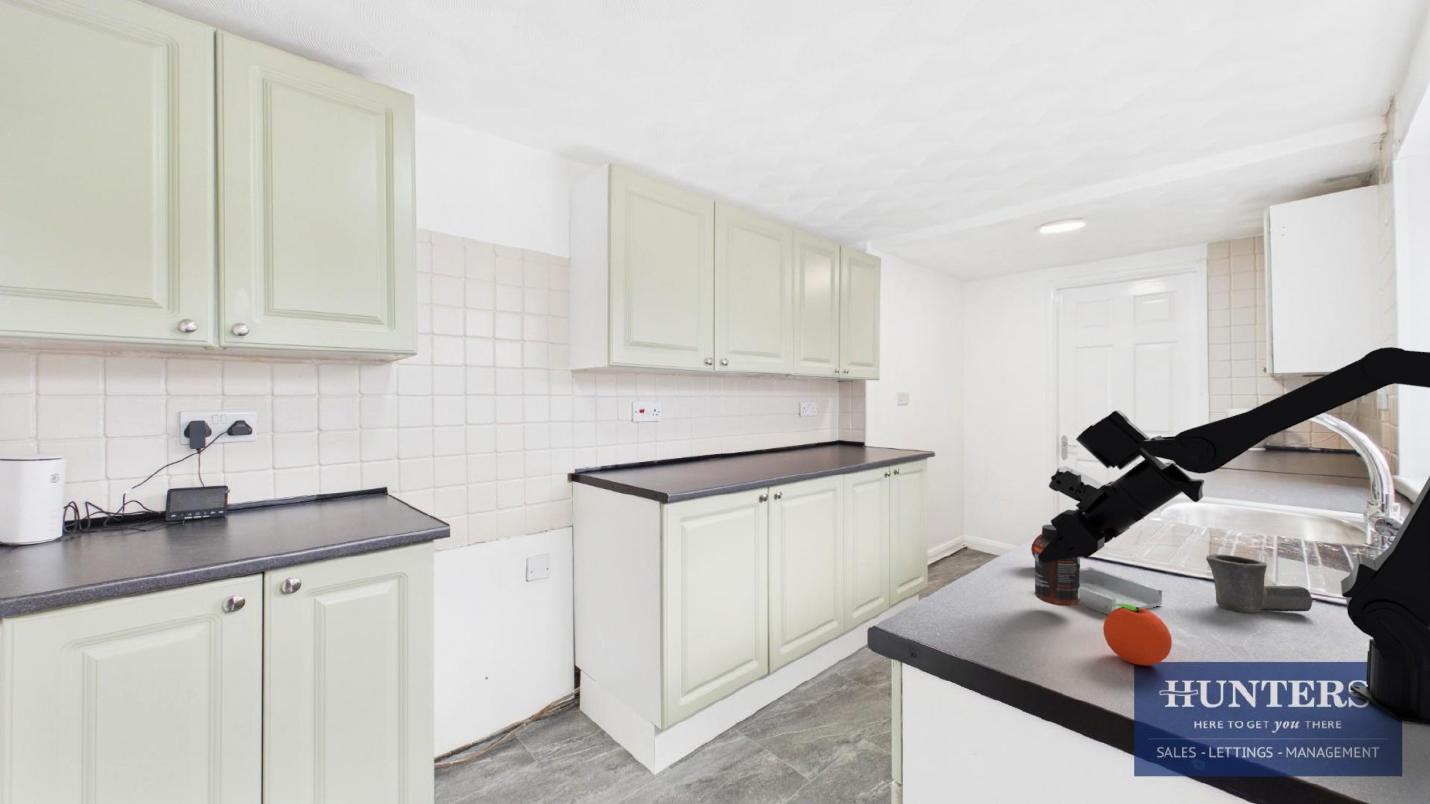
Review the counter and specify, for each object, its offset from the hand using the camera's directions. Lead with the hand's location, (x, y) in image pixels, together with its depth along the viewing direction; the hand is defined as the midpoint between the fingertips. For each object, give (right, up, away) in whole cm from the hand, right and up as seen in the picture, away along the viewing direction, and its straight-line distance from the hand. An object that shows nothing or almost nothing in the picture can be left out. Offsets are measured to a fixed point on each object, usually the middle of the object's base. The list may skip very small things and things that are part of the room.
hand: (1047, 555), depth 86 cm
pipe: (+33, -9, +1) cm, 34 cm away
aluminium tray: (+12, -9, +5) cm, 16 cm away
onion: (+12, -8, +19) cm, 24 cm away
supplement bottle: (+1, -7, -1) cm, 7 cm away
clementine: (+2, -9, -15) cm, 18 cm away
